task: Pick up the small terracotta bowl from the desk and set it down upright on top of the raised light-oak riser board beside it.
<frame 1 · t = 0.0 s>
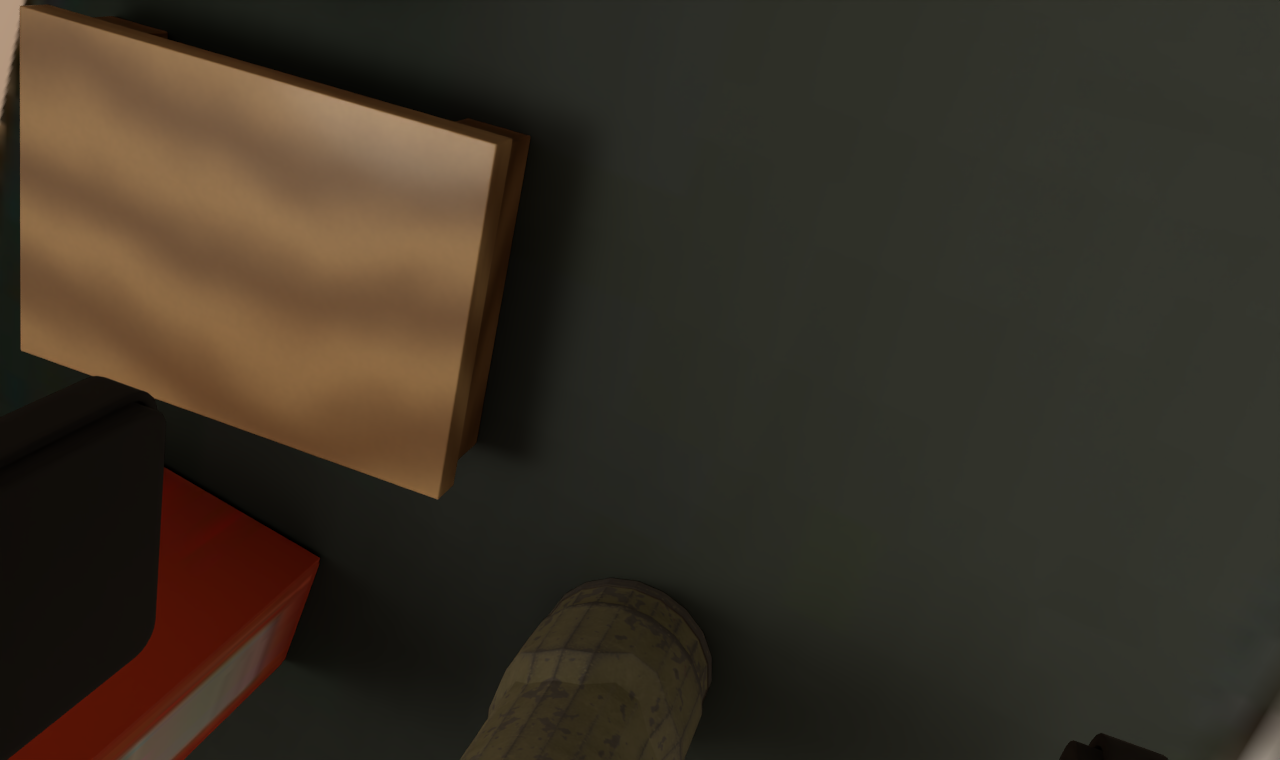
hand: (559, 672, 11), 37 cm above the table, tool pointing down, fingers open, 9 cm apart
stone idol statue: (626, 653, 56), on the table
oak riser board: (298, 233, 53), on the table
file binder: (171, 531, 62), on the table
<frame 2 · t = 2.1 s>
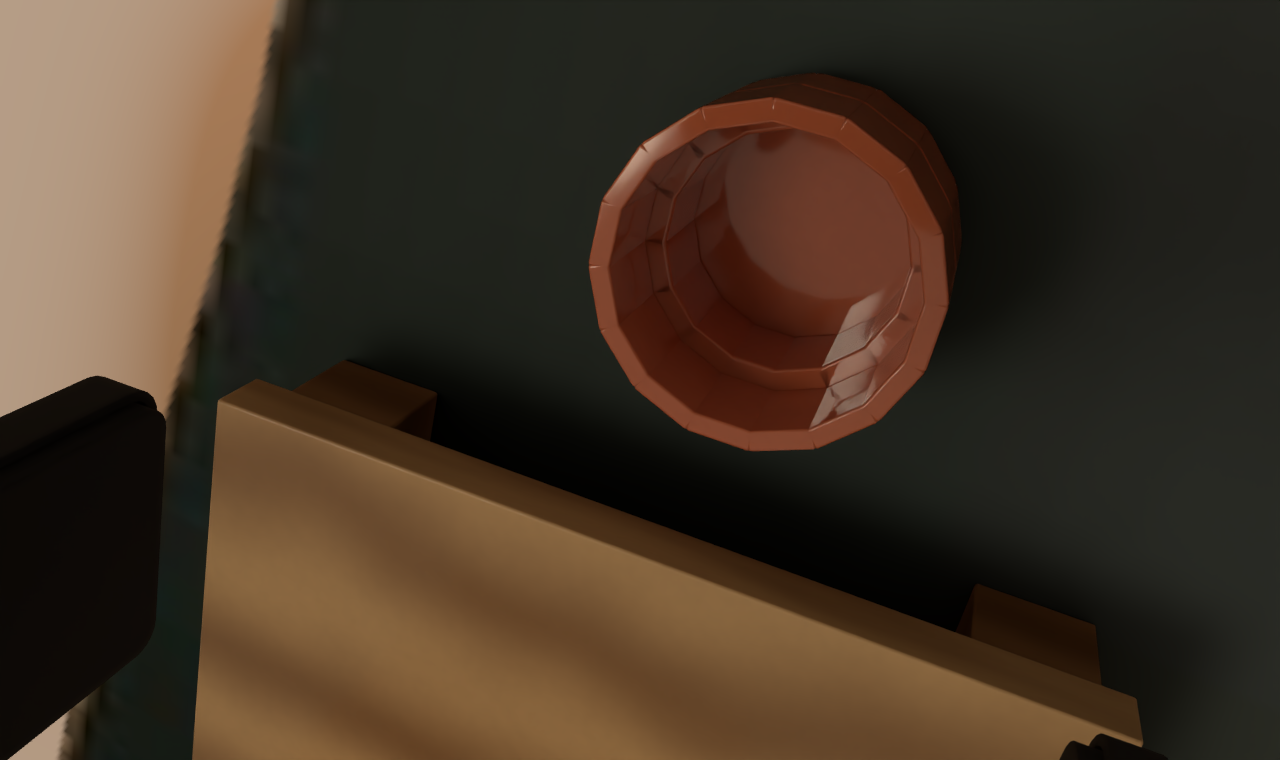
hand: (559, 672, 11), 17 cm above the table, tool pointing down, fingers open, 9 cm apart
oak riser board: (633, 702, 33), on the table
dip bowl: (808, 223, 27), on the table
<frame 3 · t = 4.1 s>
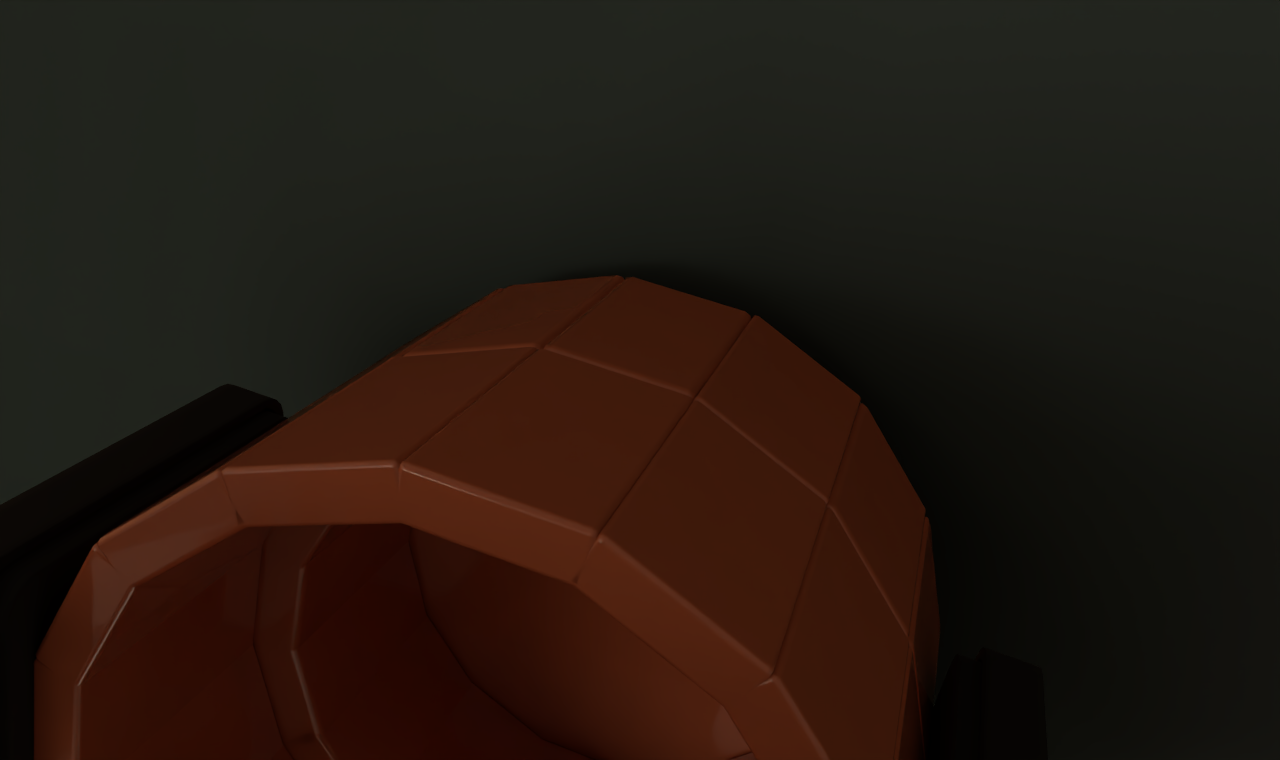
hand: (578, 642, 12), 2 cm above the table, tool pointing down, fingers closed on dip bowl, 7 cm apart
dip bowl: (635, 550, 13), on the table, touching gripper
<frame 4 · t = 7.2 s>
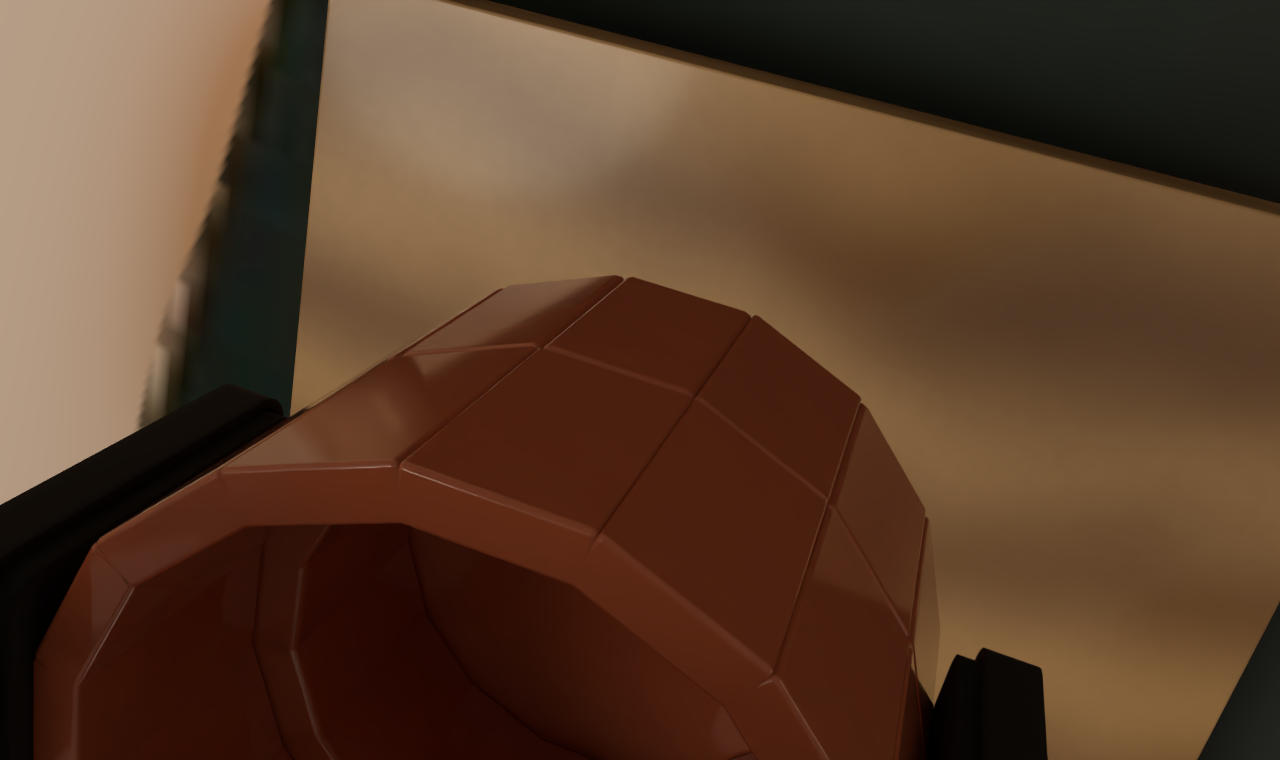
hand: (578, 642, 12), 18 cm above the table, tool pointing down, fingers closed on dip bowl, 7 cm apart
oak riser board: (780, 387, 29), on the table
dip bowl: (635, 550, 13), point 16 cm above the table, touching gripper
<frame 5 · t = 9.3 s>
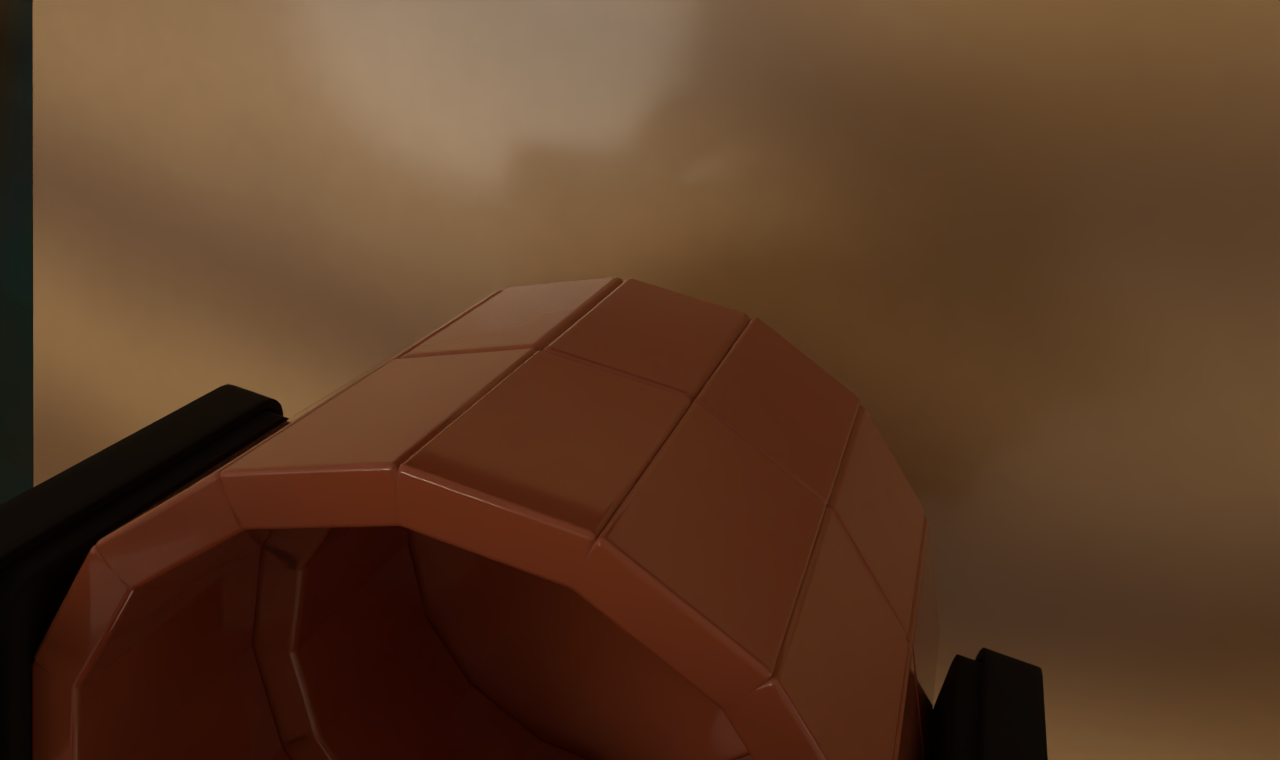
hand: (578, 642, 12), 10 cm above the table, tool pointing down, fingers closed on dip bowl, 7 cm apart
oak riser board: (765, 347, 20), on the table
dip bowl: (635, 551, 13), point 8 cm above the table, touching gripper
when the fingers open (7 cm above the table, at t = 10.6 s): dip bowl stays where it is, resting on oak riser board.
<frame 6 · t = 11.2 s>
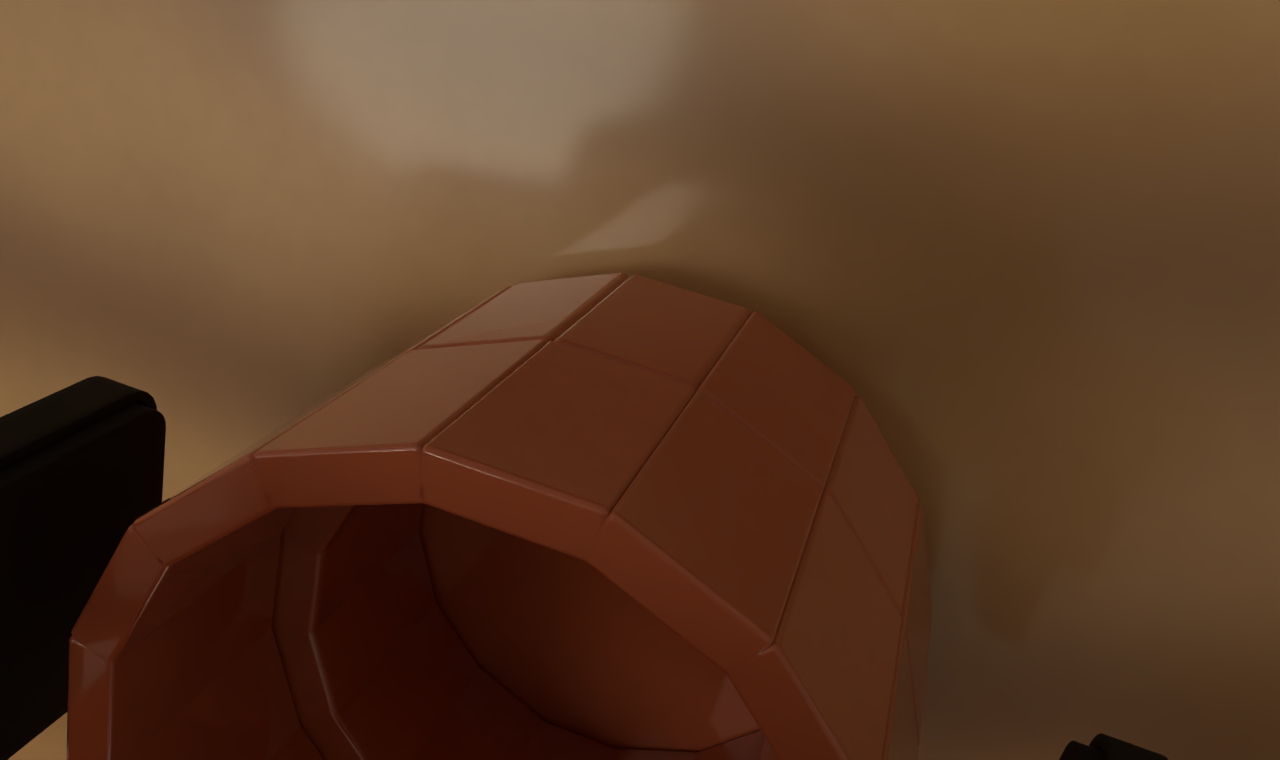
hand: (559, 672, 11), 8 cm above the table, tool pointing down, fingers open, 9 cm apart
oak riser board: (728, 396, 18), on the table
dip bowl: (638, 539, 14), point 5 cm above the table, touching oak riser board
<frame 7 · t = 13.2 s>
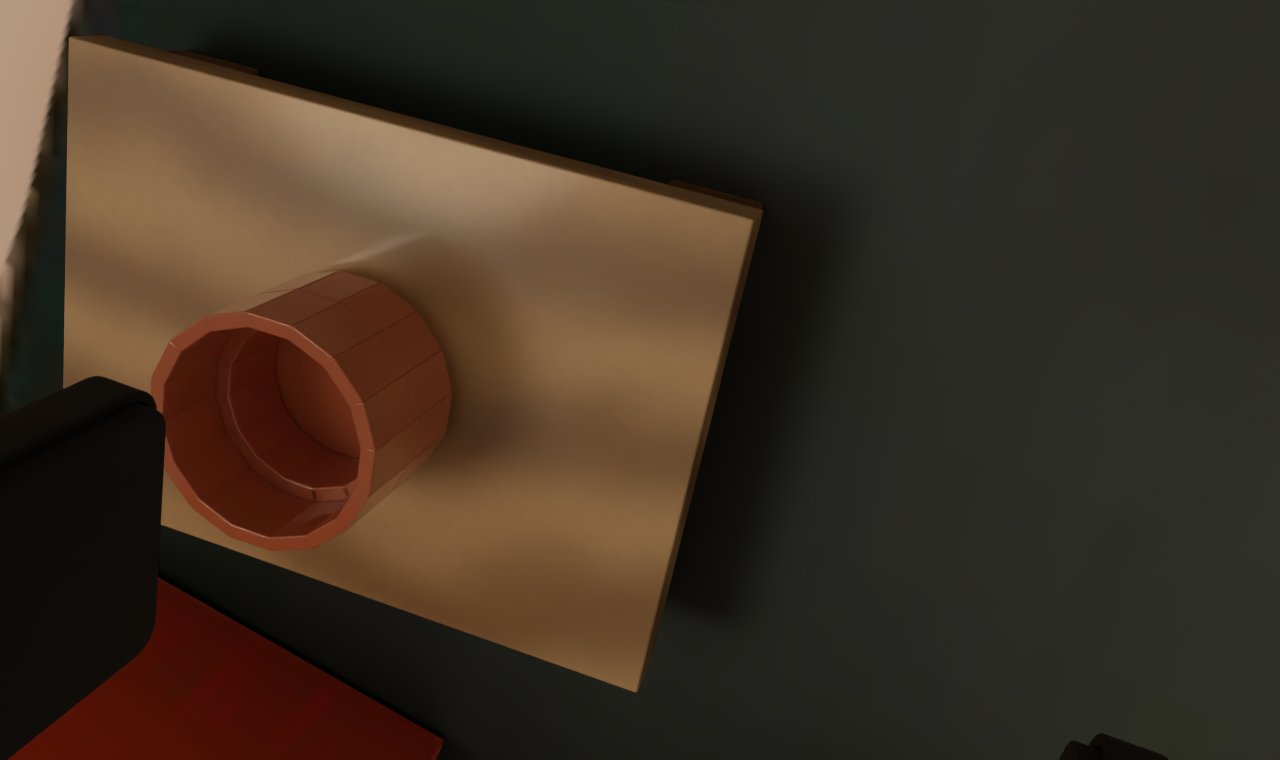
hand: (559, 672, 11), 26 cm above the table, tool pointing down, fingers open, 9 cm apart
oak riser board: (429, 330, 40), on the table
dip bowl: (358, 374, 36), point 5 cm above the table, touching oak riser board
file binder: (245, 700, 49), on the table
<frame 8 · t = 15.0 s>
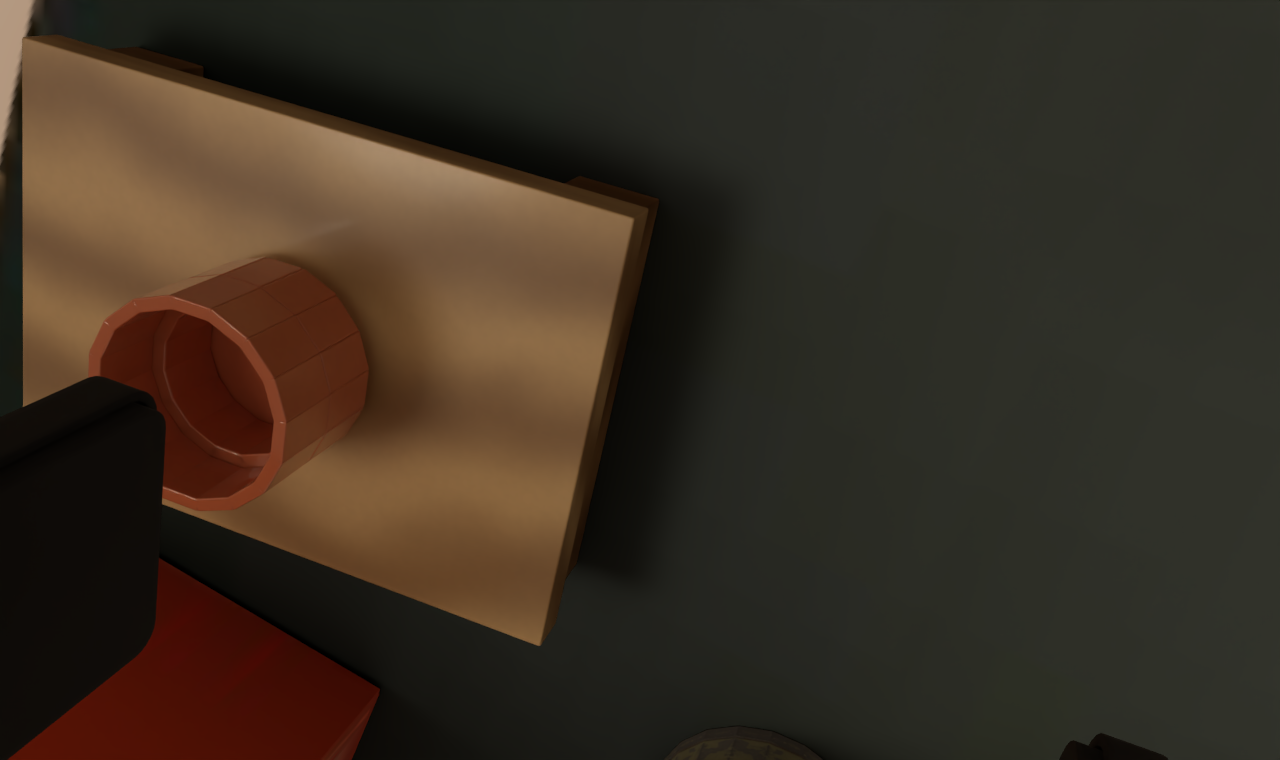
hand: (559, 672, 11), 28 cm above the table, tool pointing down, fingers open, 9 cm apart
oak riser board: (361, 311, 44), on the table
dip bowl: (287, 351, 39), point 5 cm above the table, touching oak riser board
file binder: (200, 650, 52), on the table
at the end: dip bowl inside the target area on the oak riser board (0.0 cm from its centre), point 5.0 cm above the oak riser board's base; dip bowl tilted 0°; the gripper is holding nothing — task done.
